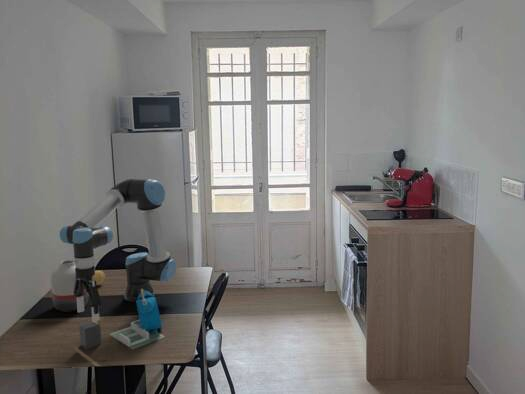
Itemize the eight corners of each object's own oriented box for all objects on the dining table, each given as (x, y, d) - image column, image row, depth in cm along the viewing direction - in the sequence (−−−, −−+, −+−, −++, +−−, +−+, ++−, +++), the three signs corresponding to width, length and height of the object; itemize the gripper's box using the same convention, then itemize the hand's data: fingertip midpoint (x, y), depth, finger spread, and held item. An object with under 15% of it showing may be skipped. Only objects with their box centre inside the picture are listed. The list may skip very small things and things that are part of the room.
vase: (65, 300, 267) (61, 256, 262) (95, 301, 263) (92, 257, 259) (46, 312, 250) (41, 266, 246) (77, 315, 247) (74, 267, 243)
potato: (79, 284, 289) (78, 268, 288) (106, 283, 292) (105, 266, 290) (76, 291, 280) (74, 274, 278) (103, 289, 282) (102, 272, 280)
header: (119, 340, 217) (118, 332, 216) (139, 333, 223) (139, 325, 223) (128, 346, 211) (128, 338, 210) (149, 339, 218) (149, 331, 217)
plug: (81, 348, 213) (79, 324, 211) (96, 342, 218) (94, 319, 216) (86, 352, 210) (84, 328, 208) (102, 346, 214) (100, 323, 212)
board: (108, 336, 223) (108, 333, 223) (141, 325, 234) (141, 322, 234) (132, 351, 209) (132, 348, 209) (165, 339, 220) (165, 336, 220)
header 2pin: (131, 328, 228) (130, 322, 228) (144, 324, 233) (143, 318, 232) (137, 332, 224) (137, 326, 224) (150, 327, 229) (150, 321, 228)
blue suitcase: (163, 338, 221) (161, 294, 217) (138, 341, 218) (136, 296, 215) (160, 322, 237) (158, 281, 233) (137, 325, 234) (135, 283, 231)
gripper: (62, 262, 214) (66, 310, 217) (89, 275, 196) (93, 327, 199) (80, 258, 219) (83, 305, 222) (108, 271, 201) (111, 322, 205)
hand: (88, 316), depth 211 cm, fingers open, 13 cm apart
